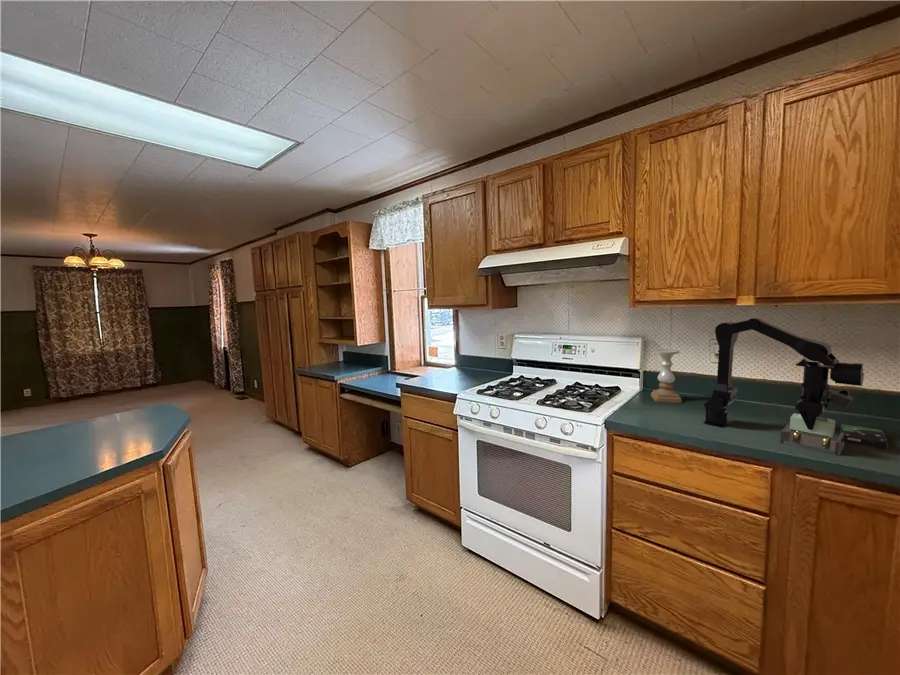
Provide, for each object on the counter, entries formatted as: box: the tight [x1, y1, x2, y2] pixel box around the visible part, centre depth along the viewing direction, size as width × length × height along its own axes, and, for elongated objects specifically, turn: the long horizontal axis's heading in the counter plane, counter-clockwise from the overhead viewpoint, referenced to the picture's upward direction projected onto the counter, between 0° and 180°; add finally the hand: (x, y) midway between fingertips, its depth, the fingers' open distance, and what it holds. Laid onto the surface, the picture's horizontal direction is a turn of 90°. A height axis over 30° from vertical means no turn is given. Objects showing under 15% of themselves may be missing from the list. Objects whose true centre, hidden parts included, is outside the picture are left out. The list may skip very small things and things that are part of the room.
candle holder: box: [650, 348, 683, 404], centre depth 177 cm, size 11×11×24 cm
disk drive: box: [839, 423, 889, 450], centre depth 125 cm, size 10×3×15 cm
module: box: [789, 412, 836, 438], centre depth 121 cm, size 10×6×5 cm, turn 40°
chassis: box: [778, 423, 845, 456], centre depth 122 cm, size 14×11×4 cm
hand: (812, 427), depth 122 cm, fingers closed on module, 6 cm apart
